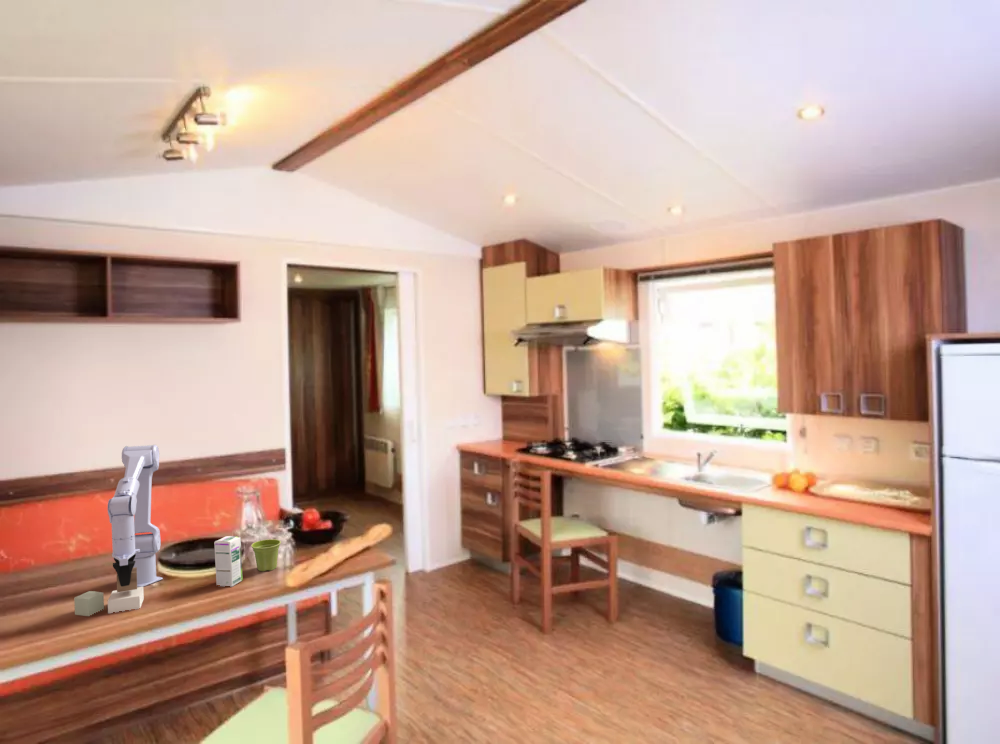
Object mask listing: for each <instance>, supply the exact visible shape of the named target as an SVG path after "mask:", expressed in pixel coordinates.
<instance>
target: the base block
mask: <svg viewBox="0 0 1000 744" xmlns="http://www.w3.org/2000/svg"><path fill="white" fill-rule="evenodd" d="M144 596H145V592H144V586H143V587H137V589H135V590H129V591H123V592H117V589H116V590H112V591H111V594H110V595H109V597H108V600H107V614H113V612H115V613H120V612H119V611H122V612H126V611H125V610H129V611H132V610H131V609H135V610H139V608H140V609H141V607H142V605H143V602H144V598H145V597H144Z"/></svg>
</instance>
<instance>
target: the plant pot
mask: <svg viewBox="0 0 1000 744" xmlns="http://www.w3.org/2000/svg"><path fill="white" fill-rule="evenodd" d="M281 544H282V541H281V540H280V539H275V538H272V539H271V538H270V539H269V538H268V539H262V540H258V541H255V542H253V543H252V544H251V545H250V546H251V548H252V550H253V552H254V553H253V554H254V558H255V562H256V568H257V570H258V571H259V572H266V571H273V570H275V569H277V566H278V556H279V548H280V545H281Z"/></svg>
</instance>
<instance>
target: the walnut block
mask: <svg viewBox="0 0 1000 744" xmlns="http://www.w3.org/2000/svg"><path fill="white" fill-rule="evenodd" d="M135 589H137V567H135V568H133V569H132V573H131V580H130V584H129V585H128V586H122V587H121V585H120V582H119V578H118V574H117V573H116V590H117V592H123V591H129V590H135Z"/></svg>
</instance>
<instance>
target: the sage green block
mask: <svg viewBox="0 0 1000 744" xmlns="http://www.w3.org/2000/svg"><path fill="white" fill-rule="evenodd" d="M73 599H74V600H73V601H74V615H75V616H84V617H91V616H93V615H95V614H97V613H99V612H101V611H103V610H104V609H105V598H104V592H101V591H95V590H93V591H92V590H89V591H87V592H84V593H82V594H80V595H77V596H75V597H74V598H73ZM102 609H103V610H102ZM100 610H101V611H100ZM98 611H99V612H98ZM96 612H97V613H96ZM94 613H95V614H94ZM92 614H93V615H92ZM90 615H91V616H90Z"/></svg>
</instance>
